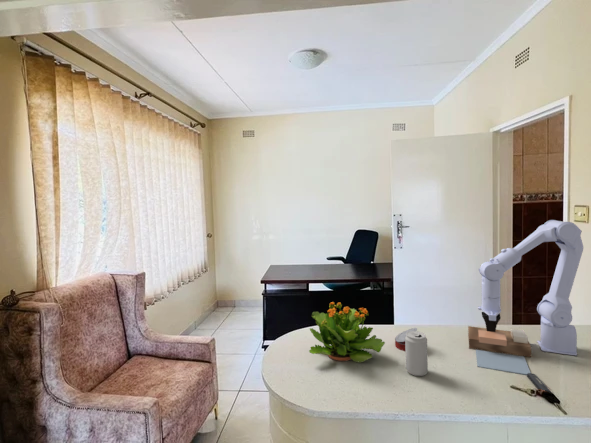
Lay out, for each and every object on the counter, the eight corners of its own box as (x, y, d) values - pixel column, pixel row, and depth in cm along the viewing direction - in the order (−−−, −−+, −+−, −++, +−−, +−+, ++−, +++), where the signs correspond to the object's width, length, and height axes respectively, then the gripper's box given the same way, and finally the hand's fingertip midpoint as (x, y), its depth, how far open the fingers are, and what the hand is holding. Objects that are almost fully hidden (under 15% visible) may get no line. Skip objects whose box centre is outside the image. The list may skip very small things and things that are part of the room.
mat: (524, 357, 108) (524, 356, 108) (531, 375, 97) (531, 374, 97) (475, 350, 114) (475, 349, 114) (477, 366, 104) (477, 366, 104)
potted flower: (324, 380, 100) (322, 324, 99) (292, 349, 121) (290, 302, 120) (389, 360, 110) (388, 309, 109) (350, 335, 132) (348, 292, 130)
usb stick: (552, 396, 88) (553, 391, 88) (541, 395, 89) (541, 390, 88) (535, 377, 97) (535, 372, 97) (525, 377, 98) (525, 372, 98)
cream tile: (524, 335, 117) (524, 329, 117) (527, 343, 110) (527, 337, 110) (510, 333, 118) (510, 328, 118) (513, 341, 112) (513, 336, 112)
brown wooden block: (524, 342, 119) (524, 332, 119) (531, 357, 108) (531, 347, 108) (468, 335, 127) (468, 326, 127) (469, 348, 116) (469, 338, 116)
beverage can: (417, 379, 98) (416, 340, 97) (401, 370, 104) (400, 333, 103) (432, 373, 101) (431, 335, 100) (415, 364, 107) (415, 328, 106)
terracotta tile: (504, 338, 115) (504, 333, 114) (506, 346, 109) (506, 340, 109) (478, 335, 118) (478, 329, 118) (479, 342, 113) (479, 336, 113)
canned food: (411, 363, 116) (405, 346, 112) (392, 351, 123) (386, 334, 120) (429, 344, 119) (423, 327, 116) (409, 334, 127) (403, 317, 123)
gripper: (477, 289, 125) (477, 324, 125) (478, 301, 112) (479, 340, 113) (498, 291, 121) (498, 327, 122) (503, 303, 108) (503, 343, 109)
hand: (490, 333), depth 117 cm, fingers closed
